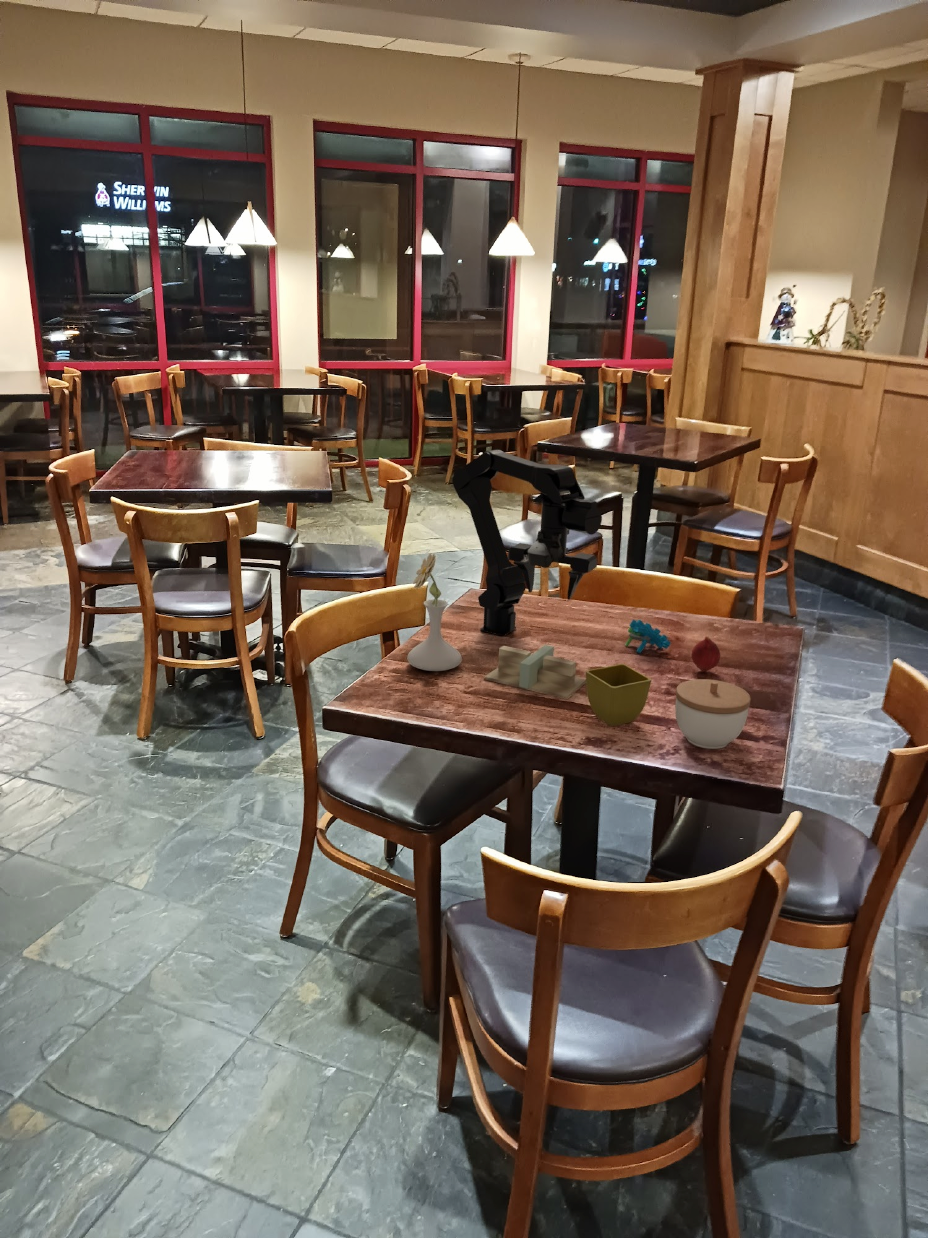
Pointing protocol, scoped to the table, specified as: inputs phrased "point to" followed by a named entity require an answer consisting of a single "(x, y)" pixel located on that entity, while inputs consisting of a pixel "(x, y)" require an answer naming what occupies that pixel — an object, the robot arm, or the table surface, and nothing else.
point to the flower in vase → (433, 629)
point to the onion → (705, 654)
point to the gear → (646, 635)
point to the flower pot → (617, 693)
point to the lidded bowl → (711, 712)
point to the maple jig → (550, 677)
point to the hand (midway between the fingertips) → (549, 595)
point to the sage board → (533, 666)
